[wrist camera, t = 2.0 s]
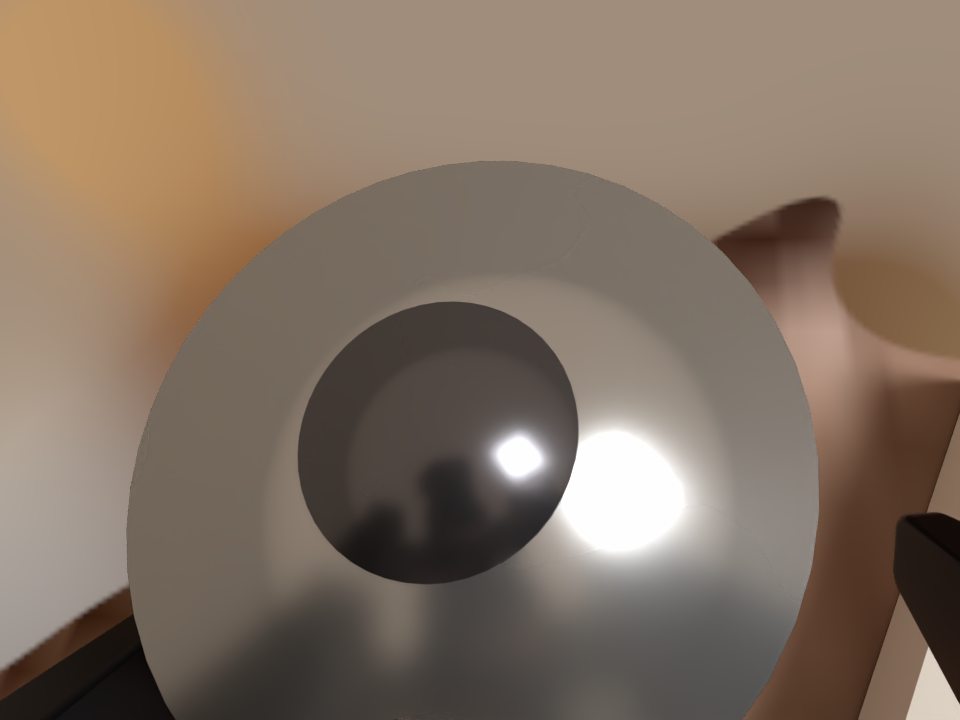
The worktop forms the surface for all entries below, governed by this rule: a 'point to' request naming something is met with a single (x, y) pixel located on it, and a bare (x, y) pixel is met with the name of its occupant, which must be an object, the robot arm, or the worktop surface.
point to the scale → (916, 637)
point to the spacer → (476, 467)
